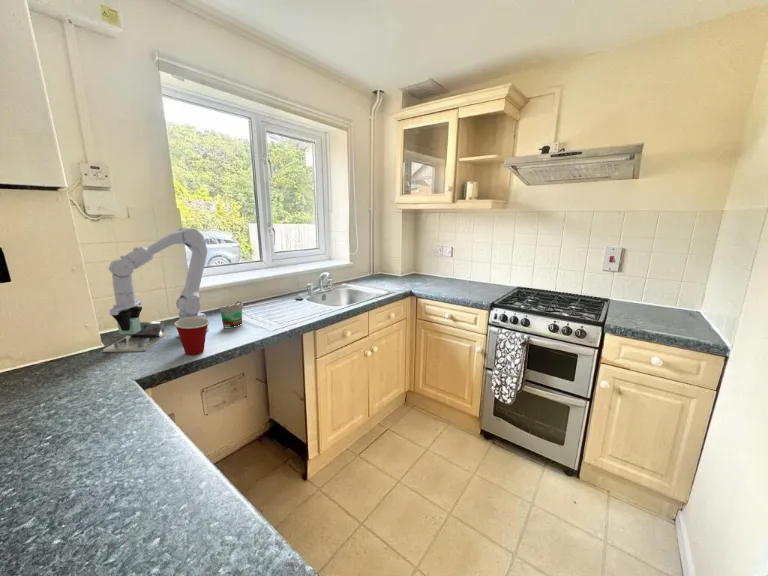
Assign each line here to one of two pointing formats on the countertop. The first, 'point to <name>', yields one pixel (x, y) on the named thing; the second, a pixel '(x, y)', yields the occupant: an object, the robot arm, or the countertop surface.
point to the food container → (232, 314)
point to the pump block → (131, 327)
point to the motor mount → (140, 338)
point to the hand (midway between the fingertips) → (129, 328)
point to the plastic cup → (192, 334)
